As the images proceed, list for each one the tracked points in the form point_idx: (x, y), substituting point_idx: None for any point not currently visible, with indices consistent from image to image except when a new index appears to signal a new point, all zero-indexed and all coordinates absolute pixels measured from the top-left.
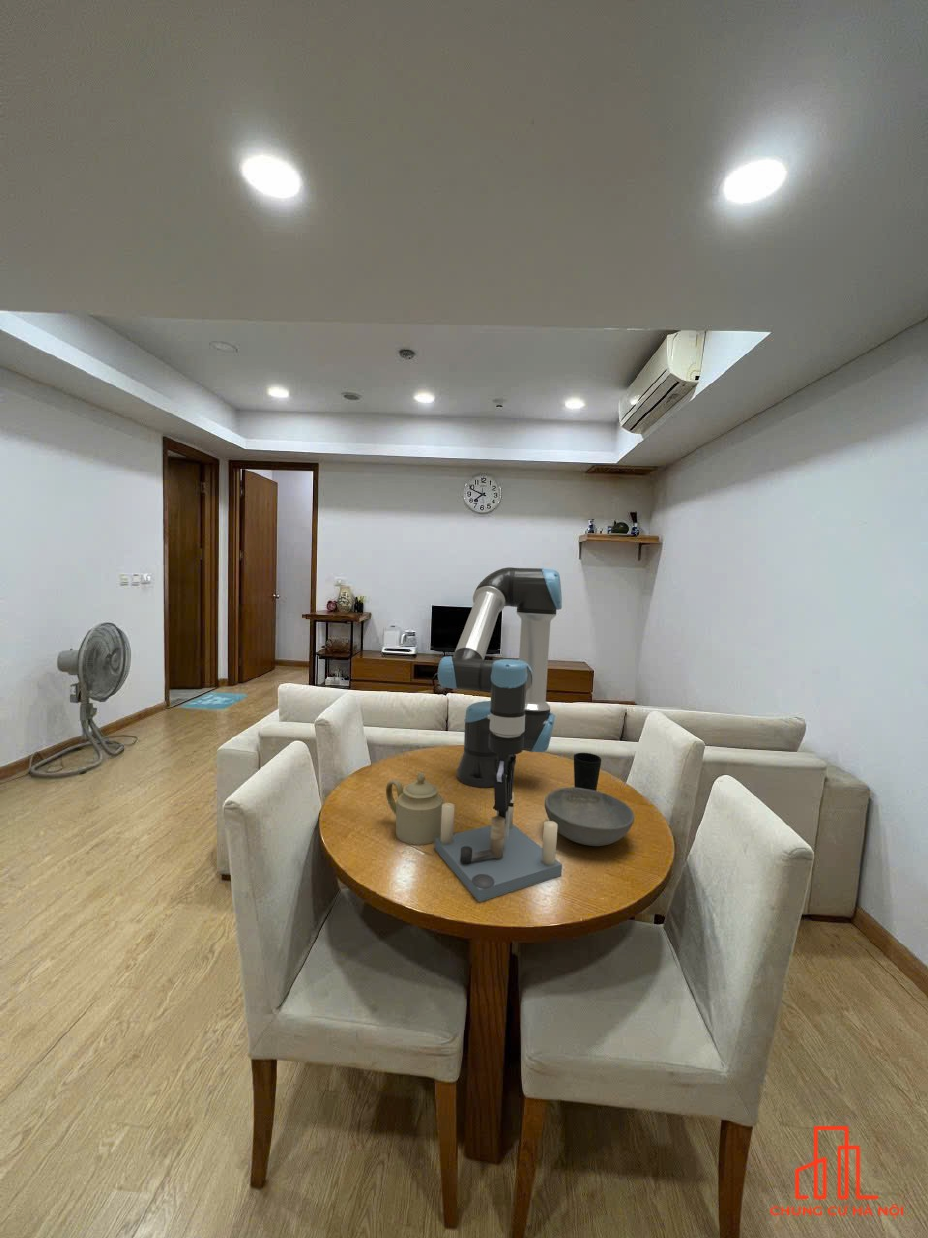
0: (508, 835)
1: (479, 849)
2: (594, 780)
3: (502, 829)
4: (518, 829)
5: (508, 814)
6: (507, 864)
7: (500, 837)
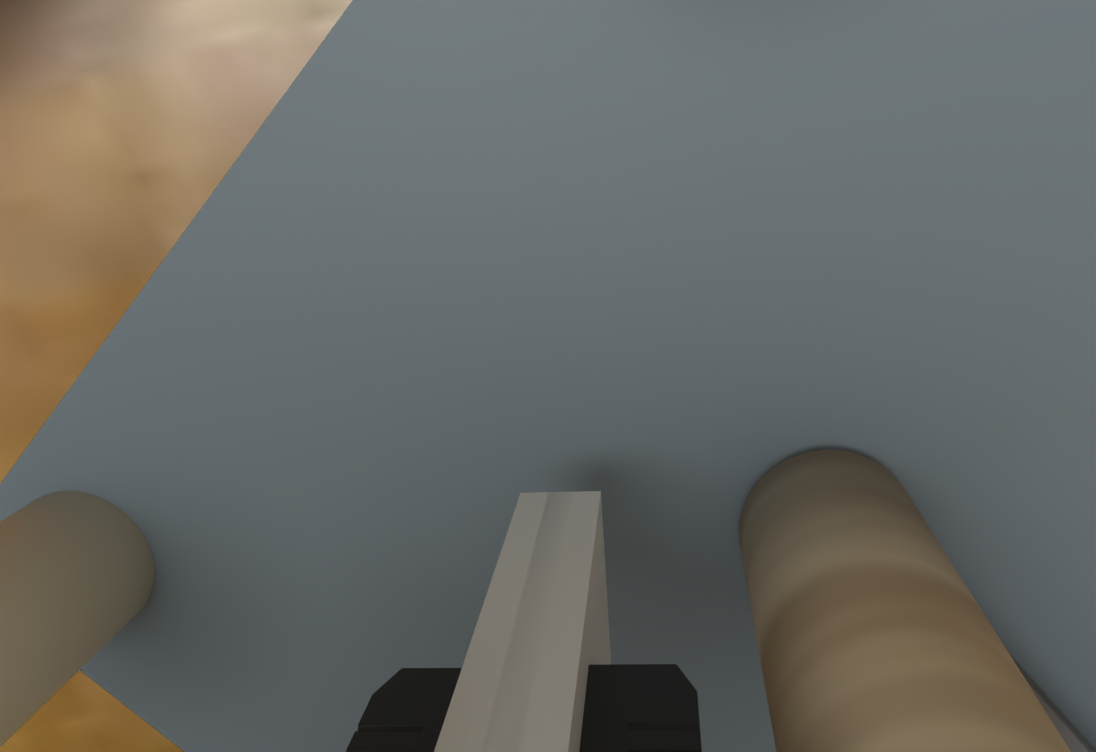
0: (545, 503)
1: (746, 732)
2: None
3: (1011, 694)
4: (73, 407)
5: (570, 749)
6: (963, 350)
7: (991, 630)
